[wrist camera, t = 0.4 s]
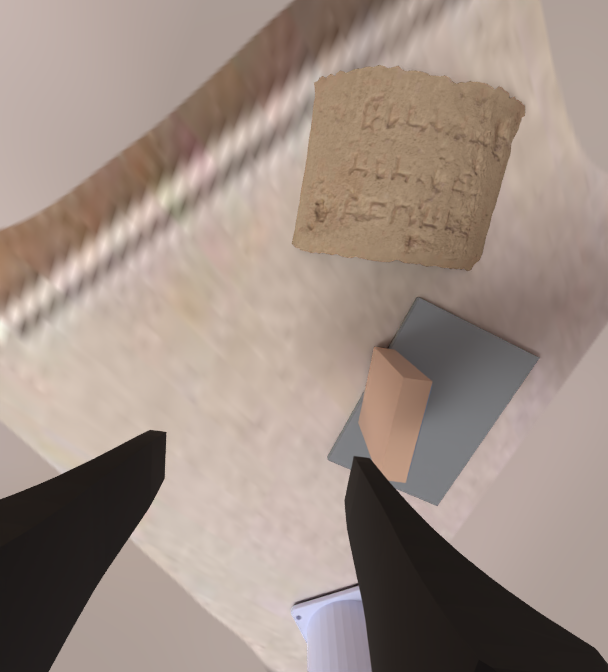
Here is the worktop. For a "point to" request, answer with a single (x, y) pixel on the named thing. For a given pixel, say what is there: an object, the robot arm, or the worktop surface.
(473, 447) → the mat
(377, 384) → the tile
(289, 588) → the worktop surface
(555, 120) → the worktop surface
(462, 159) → the clay tablet
